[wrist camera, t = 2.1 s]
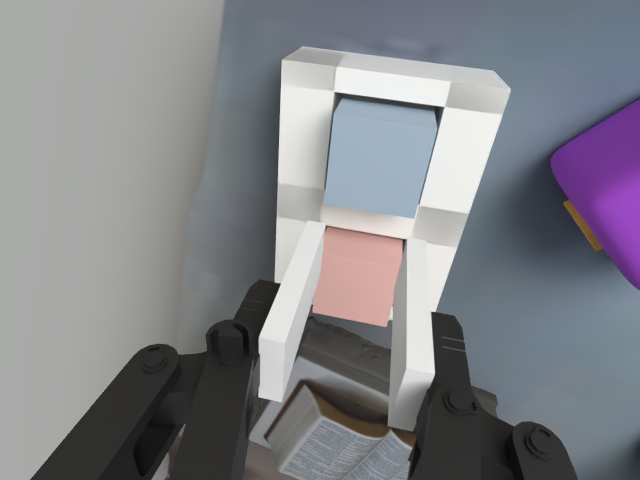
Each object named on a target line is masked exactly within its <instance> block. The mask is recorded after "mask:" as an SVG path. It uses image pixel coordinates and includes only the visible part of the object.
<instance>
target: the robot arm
mask: <svg viewBox="0 0 640 480" xmlns="http://www.w3.org/2000/svg"><path fill="white" fill-rule="evenodd" d="M325 227H326V223H321V222H315V221H309V220H308V221H307V224H306V226H305V228H304V231H303V233H302V236H301V238H300V240H299V243H298V245H297V247H296V250H295V252H294V255H293V257H292V259H291V262H290V264H289V267H288V269H287V271H286V274H285V276H284V278H283V281H282V283H281V284H280V283H275V282H270V281H265V280H259V281H257V282H256V283H255V284H254V285H252V286H251V287H250V288H249V290H248V292H247V294H246V296H245V298H244V300H243V302H242V304H241V306H240V308H239V309H238V311H237V313H236V315H235V317H234V319H233V320H224V321H221V322H218V323H216V324H215V325H213V326H212V327H211V328H210V329H209V330H208V332H207V333H206V343H207V351H206V352H203V353H197V354H185V355H178V353H177V351H176V350H175V348H173V347H171V346H169V345H166V344H155V345H149V346H147V347H145V348H143V349H141V350H140V351H138V352H137V353H136V354H135V355H134V356H133V357H132V358H131V360H130V361H129V362H128V363H127V364H126V366H125V367H124V368H123V369H122V370H121V371H120V373H119V374H118V375H117V376H116V378H115V379H114V380H113V381H112V382H111V384H110V385H109V386H108V387H107V388H106V389H105V391H104V392H103V393H102V394H101V395H100V397H99V398H98V399H97V400H96V401H95V403H94V404H93V405H92V406H91V407H90V409H89V410H88V411H87V413H85V415H84V416H83V417H82V418H81V419H80V421H79V422H78V423H77V424H76V425H75V427H74V428H73V429H72V430H71V431H70V433H69V434H68V435H67V436H66V438H65V439H64V440H63V441H62V442H61V443H60V445H59V446H58V447H57V448H56V450H55V451H54V452H53V453H52V454H51V456H50V457H49V458H48V459H47V460H46V462H45V463H44V464H43V465H42V466H41V468H40V469H39V470H38V471H37V472H36V474H35V475H34V476H33V477H32V478H31V479H30V480H151V479H152V477H153V476H154V474H155V472H156V471H157V469H158V467H159V466H160V464H161V462H162V460H163V459H164V457H165V455H166V454H167V452H168V450H169V449H170V447H171V445H172V444H173V442H174V440H175V438H176V437H177V435H178V433H179V432H180V430H181V428H182V427H183V425H184V424H186V426H185V429H184V432H183V435H182V438H181V442H180V445H179V448H178V451H177V455H176V458H175V461H174V464H173V467H172V471H171V474H170V477H169V480H242V478H243V472H244V466H245V460H246V454H247V448H248V442H249V436H250V430H251V424H252V418H253V412H254V400H255V397H256V394H257V391H258V389H259V395H258V397H260V398H264V399H269V400H273V401H278V402H282V400H283V397H284V393H285V390H286V387H287V383H288V380H289V377H290V373H291V370H292V367H293V363H294V360H295V357H296V353H297V350H298V347H299V343H300V340H301V337H302V333H303V330H304V327H305V323H306V320H307V317H308V313H309V310H310V307H311V303H312V300H313V297H314V293H315V290H316V287H317V283H318V280H319V277H320V271H321V262H322V253H323V245H324V236H325ZM415 424H416V434H417V438H416V440H415V443H414V445H413V448H412V450H411V453H410V455H409V458H408V460H407V461H410V466H409V472H408V477H407V480H578V478H577V476H576V473H575V471H574V468H573V466H572V463H571V461H570V458H569V456H568V453H567V451H566V449H565V447H564V445H563V444H562V442H561V440H560V439H559V438H558V437H557V436H556V435H555V434H554V433H553V432H552V431H550V430H549V429H547V428H546V427H544V426H542V425H540V424H537V423H534V422H521V423H519V424H517V425H516V426H515V427H514V426H512V425H510V424H508V423H506V422H504V421H502V420H500V419H498V418H496V417H494V416H493V415H491V414H490V413H488V412H487V411H486V410H485V409H483V408H482V407H481V404H480V403H479V401H478V399H477V398H476V396H475V395H473V392H472V389H471V383H470V376H469V370H468V363H467V357H466V353H465V344H464V337H463V331H462V327H461V325H460V324H459V322H458V321H457V319H456V318H455V316H452V315H447V314H442V313H437V312H431V306H430V291H429V276H428V261H427V246H426V241H425V240H419V239H413V238H407V240H406V244H405V248H404V252H403V256H402V260H401V264H400V268H399V272H398V276H397V280H396V284H395V288H394V303H393V325H392V346H391V368H390V389H389V410H388V426H390V427H394V428H399V429H403V430H408V431H412V432H413V430H414V427H415Z"/></svg>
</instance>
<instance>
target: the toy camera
mask: <svg viewBox="0 0 640 480" xmlns="http://www.w3.org/2000/svg"><path fill="white" fill-rule="evenodd" d="M551 169H552V172H553V174H554V176H555V178H556V180H557V182H558V183H559V185H560V186H561V188H562V190H563V191H564V193H565V194H566V196H567V197H568V199H569V200H567V201H565V202H564V203H563V204H564V206H565V207H566V209H567V210H568V212H569V213H570V215H571V216H572V217H573V219H574V220H575V222H576V223H577V225H578V226H579V228H580V229H581V231H582V232H583V233H584V235H585V236H586V238H587V239H588V241H589V242H590V243H591V245H592V246H593V248H594V249H595V250H596V251H599V250H601V249H604V250H605V251H606V253H607V254H608V255H609V257H610V258H611V260H612V261H613V262H614V264H615V265H616V266H617V268H618V269H619V270H620V272H621V273H622V274H623V275H624V277H625V278H626V279H627V280H628V281H629V282H630V283H631V284H632V285H633V286H634V287H636V288H637V289H638V290H640V99H639V100H637V101H635V102H634V103H632V104H630V105H629V106H627V107H625V108H624V109H622V110H620V111H619V112H617V113H615V114H614V115H612V116H611V117H609V118H607V119H606V120H604V121H602V122H601V123H599V124H597V125H596V126H594V127H592V128H591V129H589V130H587V131H586V132H584V133H582V134H581V135H579V136H578V137H576V138H574V139H573V140H571V141H570V142H568V143H566V144H565V145H564V146H562V147H561V148H559V149H558V150H557V151H556V152H555V153H554V154H553V155H552V157H551Z"/></svg>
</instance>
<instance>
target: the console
mask: <svg viewBox="0 0 640 480" xmlns="http://www.w3.org/2000/svg"><path fill="white" fill-rule="evenodd" d="M510 92H511V89H510V88H509V87H508V86H507V85H506V84H505V82H504V81H503V80H502V79H501V78H500V77H499V76H498V75H497V74H496V73H495V72H494V71H492V70H484V69H476V68H468V67H460V66H452V65H445V64H437V63H429V62H421V61H413V60H405V59H397V58H390V57H382V56H374V55H366V54H358V53H350V52H342V51H335V50H327V49H319V48H311V47H301V48H299V49H298V50H296V51H295V52H293V53H292V54H290V55H288V56H287V57H285V58H284V59H282V72H281V102H280V133H279V164H278V195H277V225H276V256H275V283H280V284H281V283H282V281H283V278H284V276H285V274H286V271H287V269H288V267H289V264H290V262H291V259H292V257H293V255H294V252H295V250H296V247H297V245H298V243H299V240H300V238H301V236H302V233H303V231H304V228H305V226H306V224H307V221H308V220H309V221H315V222H321V223H326V227H325V232H326V229H327V226H329V227H334V228H340V229H346V230H352V231H357V232H363V233H369V234H375V235H380V236H386V237H392V238H398V239H403V243H402V256H403V252H404V248H405V244H406V240H407V238H413V239H419V240H425V241H426V246H427V261H428V276H429V291H430V306H431V312H435V311H436V308H437V305H438V302H439V299H440V297H441V294H442V291H443V288H444V285H445V282H446V279H447V276H448V273H449V270H450V267H451V264H452V261H453V259H454V256H455V253H456V250H457V247H458V244H459V241H460V238H461V235H462V232H463V229H464V226H465V223H466V221H467V218H468V215H469V212H470V209H471V206H472V203H473V200H474V197H475V194H476V191H477V188H478V185H479V183H480V180H481V177H482V174H483V171H484V168H485V165H486V162H487V159H488V156H489V153H490V150H491V147H492V145H493V142H494V139H495V136H496V133H497V130H498V127H499V124H500V121H501V118H502V115H503V112H504V109H505V107H506V104H507V101H508V98H509V95H510ZM342 98H345V99H352V100H359V101H366V102H373V103H381V104H388V105H395V106H402V107H409V108H416V109H424V110H431V111H434V113H435V118H436V123H437V128H438V129H437V133H436V136H435V140H434V144H433V148H432V152H431V156H430V160H429V164H428V168H427V172H426V175H425V179H424V183H423V187H422V191H421V195H420V199H419V203H418V207H417V211H416V214H415V218H414V219H412V218H406V217H400V216H394V215H388V214H382V213H376V212H370V211H364V210H358V209H352V208H346V207H341V206H335V205H329V204H324V200H325V190H326V181H327V172H328V162H329V153H330V144H331V134H332V125H333V116H334V112H335V110H336V109H337V107H338V105H339V103H340V101H341V100H342ZM313 303H314V297H313V300H312V303H311V305H313ZM393 303H394V300H393ZM389 320H393V304H392V308H391V312H390V316H389Z"/></svg>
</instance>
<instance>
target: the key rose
mask: <svg viewBox="0 0 640 480" xmlns="http://www.w3.org/2000/svg"><path fill="white" fill-rule="evenodd" d="M402 243H403V239H398V238H392V237H386V236H380V235H375V234H369V233H363V232H357V231H352V230H346V229H340V228H334V227H329V226H327V229H326V232H325V236H324V245H323V253H322V262H321V271H320V277H319V280H318V283H317V287H316V290H315V293H314V303H313V313H318V314H323V315H328V316H333V317H338V318H343V319H348V320H353V321H358V322H363V323H368V324H373V325H378V326H383V327H387V324H388V320H389V316H390V312H391V308H392V304H393V300H394V288H395V284H396V280H397V276H398V272H399V268H400V264H401V260H402Z"/></svg>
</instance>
